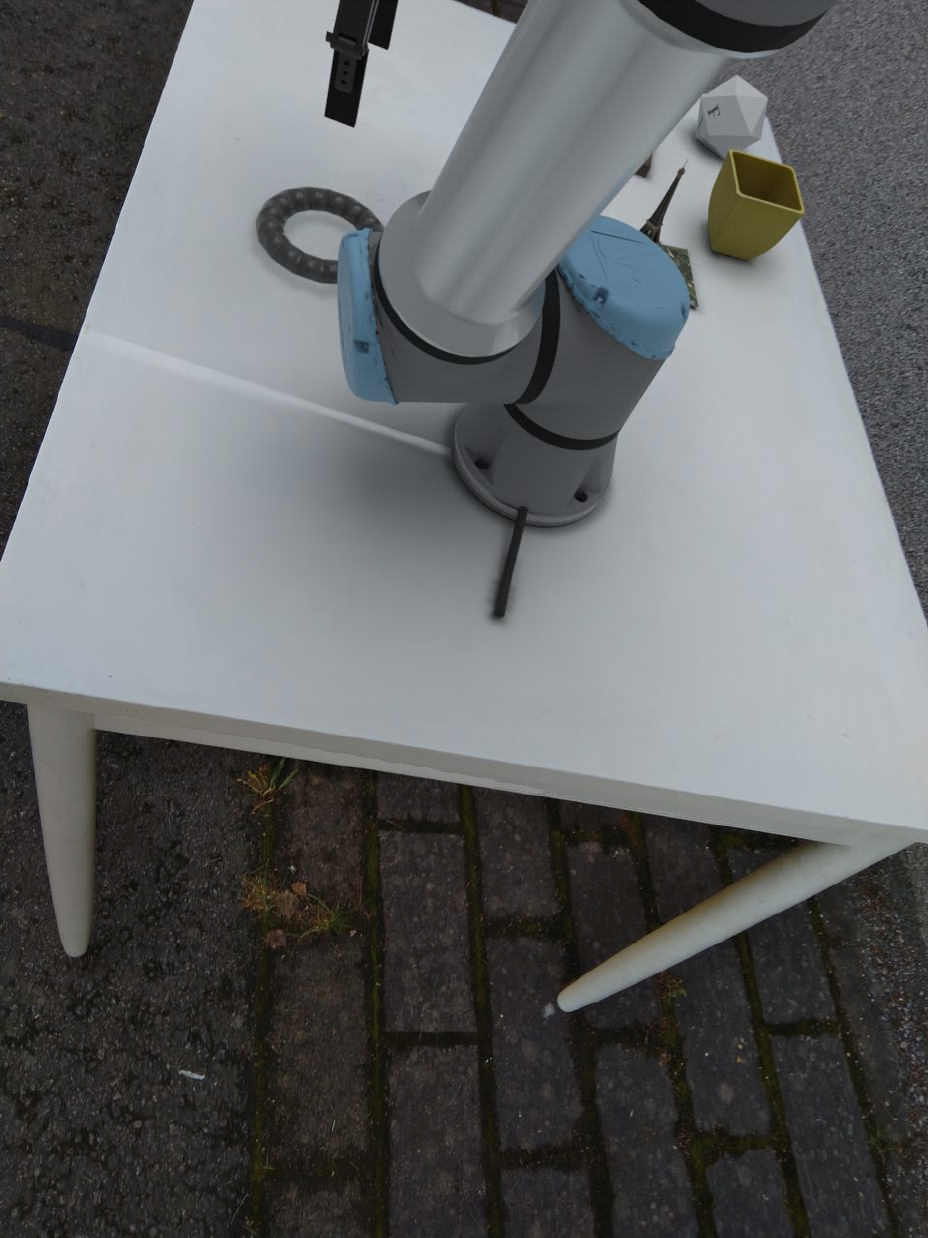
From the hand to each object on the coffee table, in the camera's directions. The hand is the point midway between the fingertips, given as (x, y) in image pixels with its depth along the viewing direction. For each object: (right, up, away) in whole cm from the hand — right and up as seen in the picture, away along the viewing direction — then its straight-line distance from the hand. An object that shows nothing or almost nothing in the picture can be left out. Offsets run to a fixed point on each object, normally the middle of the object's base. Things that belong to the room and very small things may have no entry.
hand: (358, 80), depth 82 cm
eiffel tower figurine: (+29, -9, +22) cm, 37 cm away
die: (+44, +15, +40) cm, 62 cm away
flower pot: (+42, -3, +29) cm, 52 cm away
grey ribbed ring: (-4, -11, +8) cm, 14 cm away
